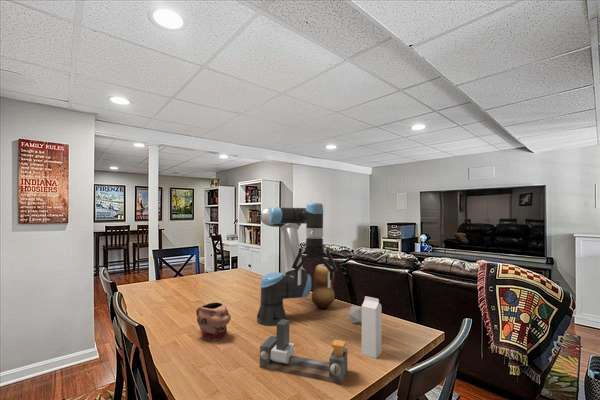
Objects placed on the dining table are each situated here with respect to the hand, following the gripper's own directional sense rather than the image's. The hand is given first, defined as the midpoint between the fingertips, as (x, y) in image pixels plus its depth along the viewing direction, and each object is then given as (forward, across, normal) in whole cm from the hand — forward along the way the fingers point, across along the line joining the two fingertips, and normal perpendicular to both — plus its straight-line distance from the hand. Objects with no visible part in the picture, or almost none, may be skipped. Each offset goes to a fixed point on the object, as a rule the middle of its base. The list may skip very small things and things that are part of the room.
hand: (314, 286), depth 126 cm
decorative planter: (+23, -44, -11) cm, 51 cm away
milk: (+24, +25, -4) cm, 35 cm away
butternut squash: (+23, -6, +44) cm, 50 cm away
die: (+24, +16, +27) cm, 39 cm away
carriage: (+21, -6, -23) cm, 32 cm away
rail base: (+24, +2, -24) cm, 33 cm away
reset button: (+16, +15, -24) cm, 33 cm away
